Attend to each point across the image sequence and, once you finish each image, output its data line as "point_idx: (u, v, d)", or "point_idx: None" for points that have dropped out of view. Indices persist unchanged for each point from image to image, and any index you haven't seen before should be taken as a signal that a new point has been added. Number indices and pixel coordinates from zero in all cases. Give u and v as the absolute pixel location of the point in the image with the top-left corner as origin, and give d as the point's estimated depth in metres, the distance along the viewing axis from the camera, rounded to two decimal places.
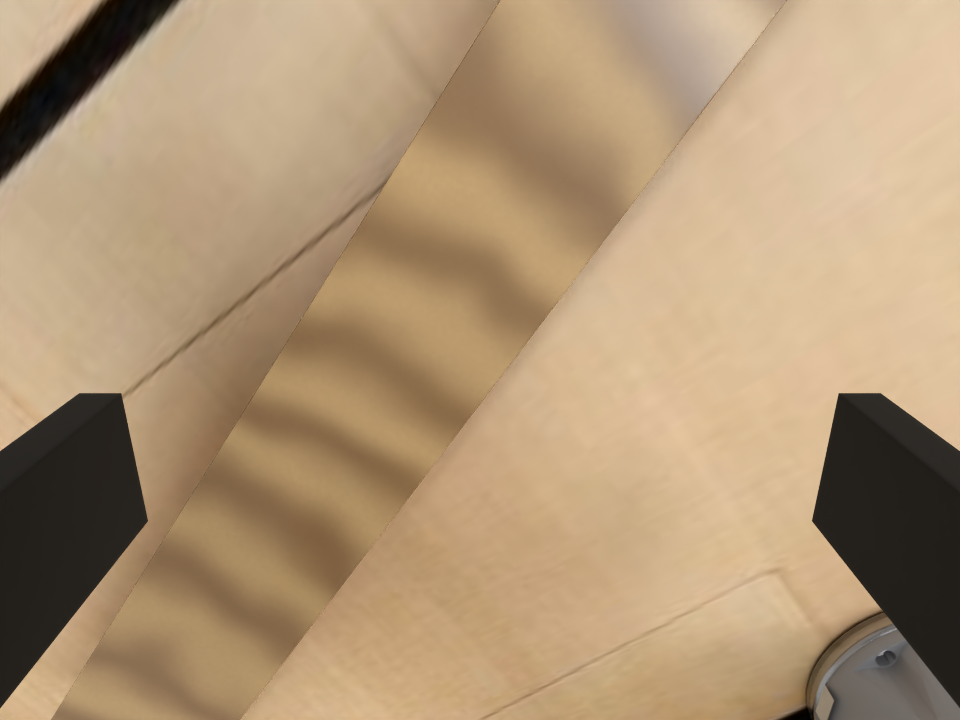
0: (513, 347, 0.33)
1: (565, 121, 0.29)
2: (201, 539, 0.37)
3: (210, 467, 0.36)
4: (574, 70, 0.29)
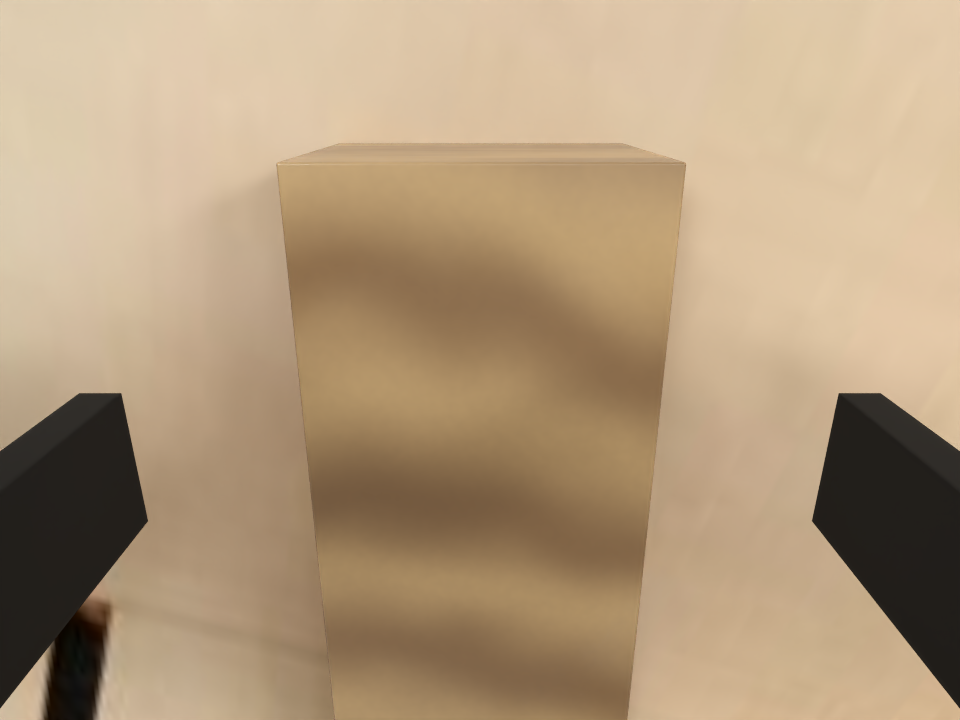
0: None
1: None
2: None
3: None
4: None
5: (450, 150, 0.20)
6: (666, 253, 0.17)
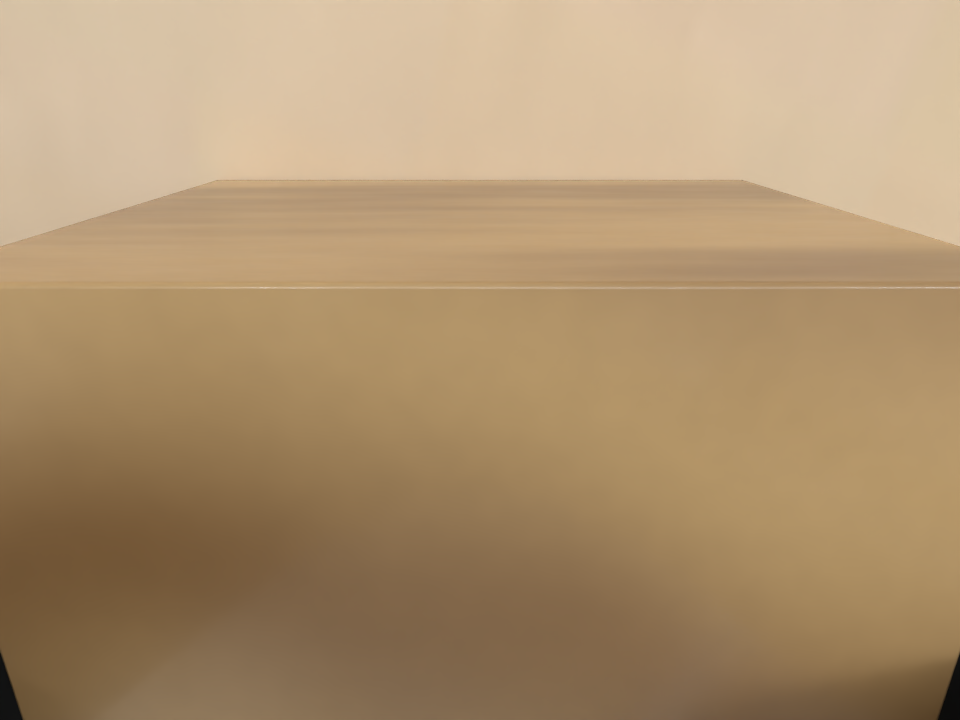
0: None
1: None
2: None
3: None
4: None
5: (414, 207, 0.09)
6: None
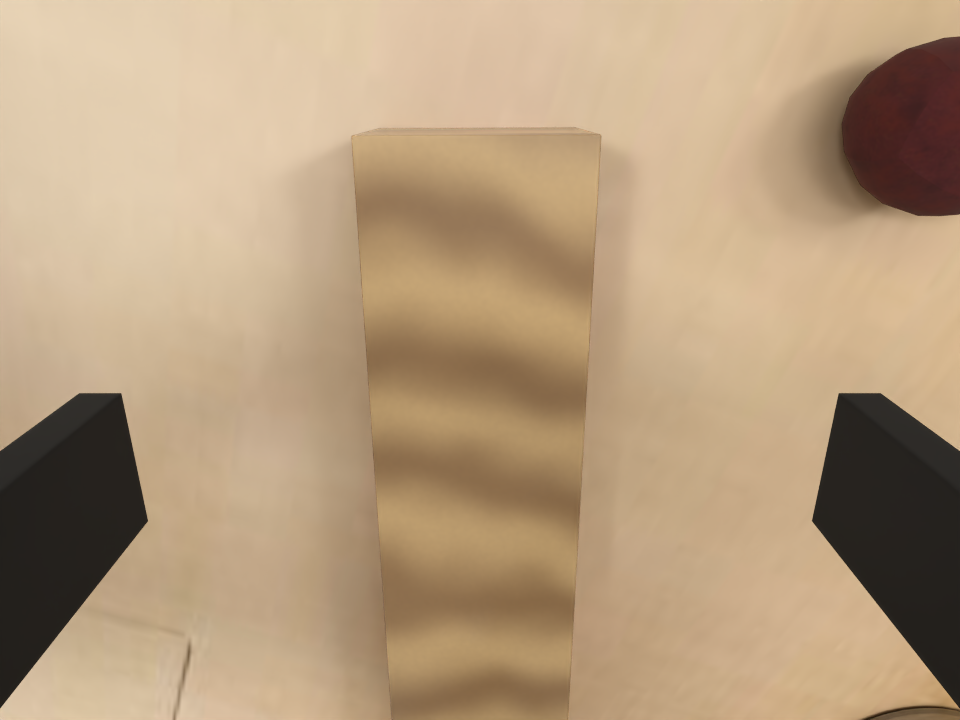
0: (560, 717, 0.37)
1: (482, 571, 0.34)
2: None
3: None
4: (463, 539, 0.33)
5: None
6: (591, 191, 0.27)
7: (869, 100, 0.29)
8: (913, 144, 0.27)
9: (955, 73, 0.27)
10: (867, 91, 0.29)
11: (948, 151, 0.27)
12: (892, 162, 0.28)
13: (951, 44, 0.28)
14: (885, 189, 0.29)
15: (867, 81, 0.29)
